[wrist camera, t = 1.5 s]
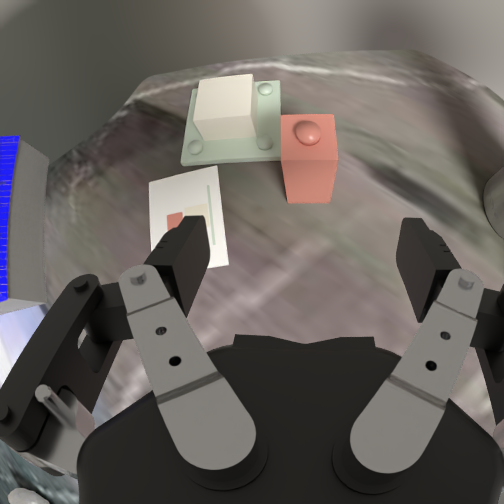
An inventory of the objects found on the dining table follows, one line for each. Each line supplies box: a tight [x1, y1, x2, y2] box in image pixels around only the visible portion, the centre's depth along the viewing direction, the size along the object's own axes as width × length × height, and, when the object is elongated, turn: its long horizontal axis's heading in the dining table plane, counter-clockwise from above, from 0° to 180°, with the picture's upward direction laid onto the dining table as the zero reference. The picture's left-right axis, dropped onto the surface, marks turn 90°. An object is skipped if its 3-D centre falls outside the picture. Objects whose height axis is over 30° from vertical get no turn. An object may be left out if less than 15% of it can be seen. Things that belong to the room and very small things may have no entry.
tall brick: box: [281, 114, 338, 203], centre depth 29 cm, size 5×5×11 cm
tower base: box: [181, 74, 281, 166], centre depth 34 cm, size 12×12×6 cm
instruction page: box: [149, 165, 229, 268], centre depth 35 cm, size 9×12×1 cm
